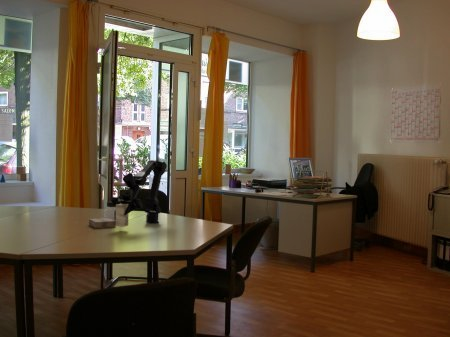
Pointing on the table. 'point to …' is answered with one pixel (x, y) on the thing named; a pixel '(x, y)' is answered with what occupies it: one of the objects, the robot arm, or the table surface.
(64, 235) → the table surface
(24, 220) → the table surface
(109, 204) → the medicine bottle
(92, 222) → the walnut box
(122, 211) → the birch block
